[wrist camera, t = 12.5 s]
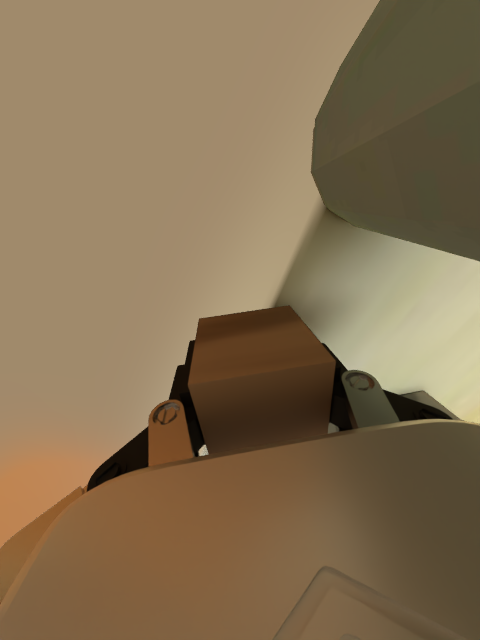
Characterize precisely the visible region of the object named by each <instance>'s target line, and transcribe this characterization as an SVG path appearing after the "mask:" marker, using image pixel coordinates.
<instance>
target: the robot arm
mask: <svg viewBox="0 0 480 640" xmlns="http://www.w3.org/2000/svg"><path fill="white" fill-rule="evenodd" d="M305 325H306V324H305ZM310 331H311V330H310ZM311 332H312V331H311ZM315 337H316V336H315ZM316 338H317V337H316ZM320 343H321V342H320ZM321 344H322V345H323V346H324V347H325V349H326V350H327V351H328V352H329V353H330V355H331V356H332V357H333V358H334V359H335V360H336V365H335V373H334V382H333V391H332V400H331V409H330V417H329V423H332V424H334V425H335V428H336V432H334V433H329V434H323V435H317V436H311V437H305V438H300V439H294V440H288V441H282V442H277V443H271V444H265V445H260V446H254V447H248V448H243V449H237V450H232V451H226V452H221V453H215V454H210V455H204V456H199V452H198V451H199V449H200V448H201V447H202V446H203V445H206V443H205V440H204V437H203V433H202V430H201V427H200V423H199V420H198V417H197V414H196V410H195V407H194V404H193V400H192V397H191V394H190V390H189V387H188V381H189V375H190V369H191V363H192V357H193V351H194V345H195V340H193V341H190V342H189V347H188V352H187V357H186V361H185V365H179V366H178V367H177V370H176V374H175V377H174V381H173V385H172V389H171V393H170V397H169V400H167V401H164V402H162V403H160V404H159V405H157V406H156V407H155V408H154V409H153V410H152V411H151V414H150V415H149V420H148V423H149V425H148V427H147V428H146V429H144V430H143V431H142V432H141V433H139V434H138V435H137V436H136V437H135V438H133V440H131V441H130V442H129V443H127V444H126V445H125V446H124V447H122V448H121V449H120V450H119V451H118V452H116V453H115V454H114V455H113V456H111V457H110V458H109V459H108V460H107V461H105V462H104V463H103V464H102V465H101V466H100V467H99V468H98V469H97V470H96V471H95V472H94V474H93V475H92V476H91V478H90V480H89V483H88V485H86V486H85V487H84V488H82V487H81V486H80V487H78V488H77V489H75V490H74V491H73V492H71V493H70V494H69V495H67V496H66V497H65V498H63V499H62V500H61V501H59V502H58V503H57V504H55V505H54V506H52V507H51V508H50V509H48V510H47V511H46V512H44V513H43V514H42V515H40V516H39V517H38V518H36V519H35V520H34V521H32V522H31V523H29V524H28V525H27V526H25V527H24V528H23V529H21V530H20V531H19V532H17V533H16V534H15V535H14V536H12V537H11V538H10V539H9V540H8V541H7V542H6V543H5V544H4V545H3V546H2V547H1V548H0V640H480V424H478V423H473V422H467V421H464V420H460V419H458V420H453V419H452V418H451V417H450V416H449V415H448V414H446V413H445V412H443V411H441V410H439V409H437V408H435V407H432V406H430V405H427V404H424V403H421V402H418V401H415V400H412V399H409V398H406V397H403V396H400V395H397V394H394V393H392V392H389V391H386V390H383V389H382V388H381V386H380V384H379V383H378V381H377V380H376V379H375V378H374V377H373V376H372V375H370V374H368V373H366V372H363V371H359V370H349V371H348V370H347V369H346V368H345V366H344V365H343V364H342V363H341V362H340V361H339V360H338V358H337V357H336V356H335V355H334V354H333V353H332V351H331V350H330V349H329V348H328V347H327V346H326V345H325V344H324V343H321Z"/></svg>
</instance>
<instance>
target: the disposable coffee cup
mask: <svg viewBox="0 0 480 640" xmlns="http://www.w3.org/2000/svg"><path fill="white" fill-rule="evenodd" d="M312 150H313V151H312V165H311V173H312V176H313V178H314V181H315V183H316V186H317V188H318V190H319V193H320V195H321V198H322V200H323V203H324V204H325V205H326V206H327V209H329V210H330V211H332V212H333V213H335V214H337V215H338V216H340V217H341V218H343V219H344V220H346V221H347V222H349V223H350V224H352V225H353V226H356V227H360V228H363V229H367V230H370V231H374V232H378V233H381V234H385V235H388V236H392V237H395V238H399V239H402V240H406V241H410V242H413V243H417V244H420V245H424V246H427V247H431V248H434V249H438V250H442V251H445V252H449V253H452V254H456V255H459V256H463V257H466V258H470V259H474V260H477V261H480V0H380V1H379V3H378V5H377V6H376V8H375V10H374V12H373V13H372V15H371V16H370V18H369V20H368V21H367V23H366V25H365V27H364V28H363V29H362V31H361V33H360V35H359V36H358V38H357V39H356V41H355V43H354V44H353V46H352V48H351V50H350V51H349V53H348V54H347V56H346V58H345V59H344V61H343V63H342V64H341V66H340V68H339V70H338V72H337V75H336V77H335V79H334V81H333V83H332V85H331V87H330V90H329V92H328V94H327V96H326V98H325V100H324V102H323V104H322V106H321V108H320V111H319V113H318V115H317V117H316V119H315V127H314V131H313V149H312Z"/></svg>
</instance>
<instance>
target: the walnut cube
mask: <svg viewBox="0 0 480 640" xmlns="http://www.w3.org/2000/svg"><path fill="white" fill-rule="evenodd" d="M335 365H336V360H335V359H334V358H333V357H332V356H331V355H330V353H329V352H328V351H327V350H326V349H325V347H324V346H323V345H322V344H321V343H320V341H319V340H318V339H317V338H316V337H315V335H314V334H313V333H312V332H311V331H310V329H309V328H308V327H307V326H306V325H305V323H304V322H303V321H302V320H301V319H300V317H299V316H298V315H297V314H296V313H295V311H294V310H293V309H292V308H291V307H290V305H288V306H282V307H275V308H268V309H261V310H255V311H248V312H241V313H234V314H228V315H221V316H214V317H208V318H201V319H199V322H198V328H197V334H196V339H195V345H194V351H193V357H192V363H191V369H190V375H189V381H188V387H189V390H190V394H191V397H192V400H193V404H194V407H195V410H196V414H197V417H198V420H199V423H200V427H201V430H202V433H203V437H204V440H205V443H206V447H207V450H208V453H209V455H210V454H215V453H221V452H226V451H232V450H237V449H243V448H248V447H254V446H260V445H265V444H271V443H277V442H282V441H288V440H294V439H300V438H305V437H311V436H317V435H323V434H328V426H329V417H330V409H331V400H332V391H333V382H334V373H335Z"/></svg>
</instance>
